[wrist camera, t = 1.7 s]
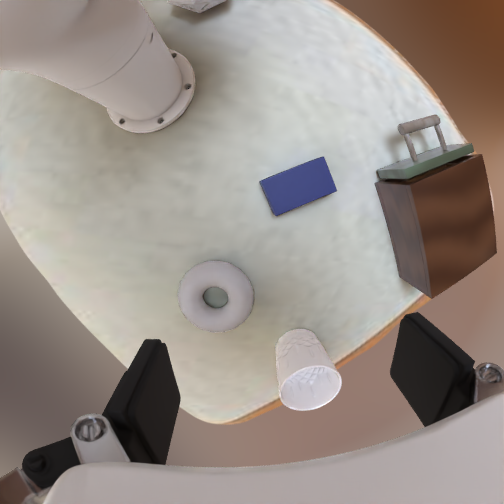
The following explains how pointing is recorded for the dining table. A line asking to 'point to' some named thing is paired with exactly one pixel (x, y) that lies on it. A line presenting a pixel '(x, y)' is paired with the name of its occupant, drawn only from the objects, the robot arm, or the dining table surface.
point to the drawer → (428, 160)
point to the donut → (223, 278)
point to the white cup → (305, 371)
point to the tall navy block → (298, 186)
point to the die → (196, 4)
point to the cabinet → (440, 224)
